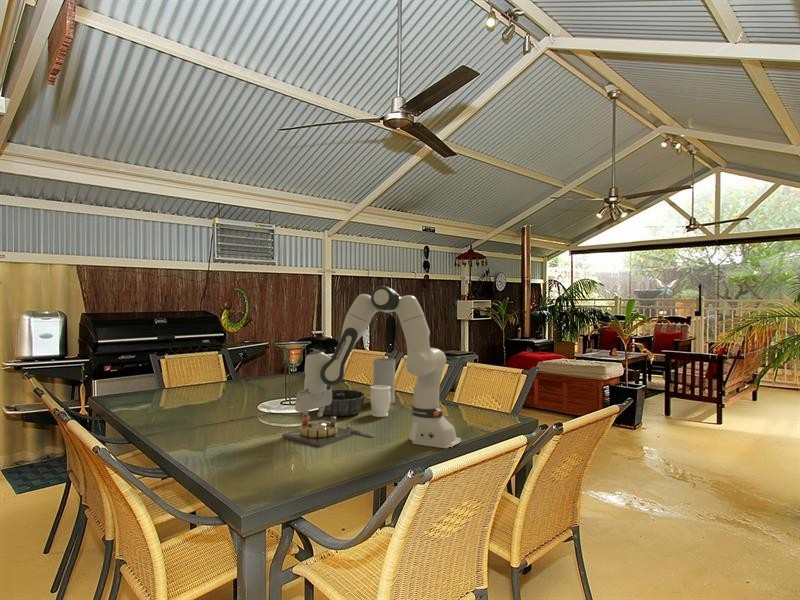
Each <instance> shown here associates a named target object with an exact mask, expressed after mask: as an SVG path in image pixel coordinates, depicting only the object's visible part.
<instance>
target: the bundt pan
mask: <svg viewBox="0 0 800 600" xmlns="http://www.w3.org/2000/svg"><path fill="white" fill-rule="evenodd" d="M331 391H332V402H331V404H330V405H327V406H325V409H324V411H323V415H325V416H330V417H332V416H336V417H337V416H338V417H345V416H347V417H350V416H353V415H356V414H359V413H360V412H361V411H362V409H363V407H364V401H365V397H366V395H367V394H366V392H363V391H360V390H357V389H356V390H355V389H349V388H348V389H345V388H344V389H339V388H338V389H337V388H335V389H331ZM317 409H318V410H320V408H317Z"/></svg>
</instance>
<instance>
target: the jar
mask: <svg viewBox="0 0 800 600" xmlns="http://www.w3.org/2000/svg"><path fill="white" fill-rule="evenodd" d="M390 389H391V386H387V385H370V397H369V401H370V408H371V411H372V413H371V416H373V417H375V418H376V417H377V418H384V417H388V416H389V410H390V406H391V404H390V401H391V394H390Z"/></svg>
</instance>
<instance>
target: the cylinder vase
mask: <svg viewBox="0 0 800 600" xmlns="http://www.w3.org/2000/svg"><path fill="white" fill-rule="evenodd" d="M372 379H373V382H372V383H373V385H387V386H391V389H390V394H391V401H390V405H392V404H394V403H395V401H396V400H395V394H396V390H395V388H396V359H394V358H387V357H382V358H381V357H380V358H379V357H378V358H374V359H373V378H372ZM373 385H372V386H373Z"/></svg>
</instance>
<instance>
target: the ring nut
mask: <svg viewBox="0 0 800 600" xmlns="http://www.w3.org/2000/svg"><path fill="white" fill-rule="evenodd" d="M308 416H309V414H308V415H304V414H302V416H301V424H299V429H300V434H301V435H303V436H306V437H315V438H317V437H318V438H319V437H327V436H332V435H335V434H336V433H337V432H338V428H339V425H338V423H337V416H334V415H332V416H330V420H311V421H310V420H308ZM313 422H326V423H327V427H326V428H311V423H313Z"/></svg>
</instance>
